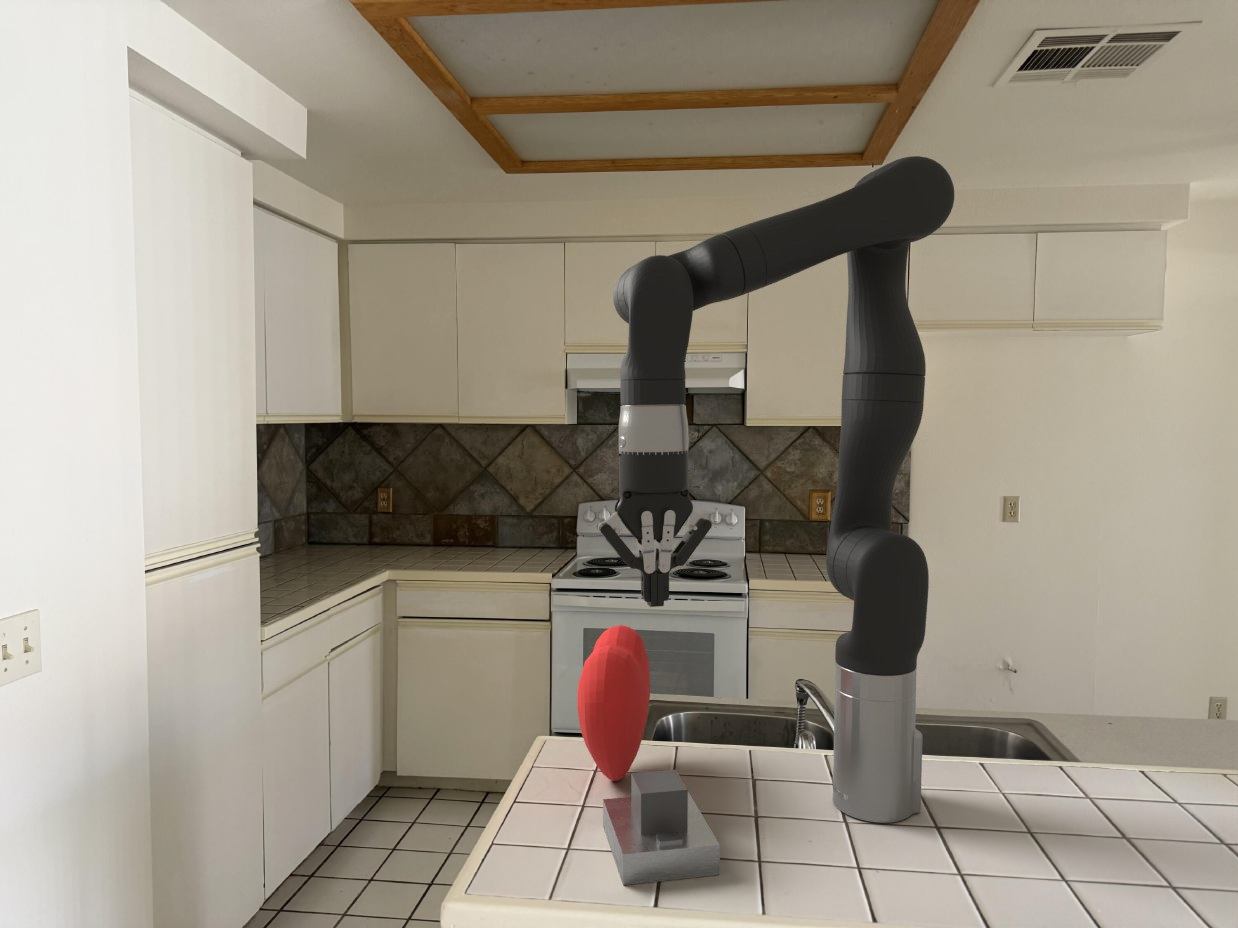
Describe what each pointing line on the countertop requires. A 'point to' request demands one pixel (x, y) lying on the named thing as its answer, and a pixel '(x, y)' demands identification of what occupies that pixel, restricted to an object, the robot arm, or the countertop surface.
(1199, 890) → the countertop surface
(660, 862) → the socket plate
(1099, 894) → the countertop surface
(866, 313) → the robot arm
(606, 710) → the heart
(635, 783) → the plug
